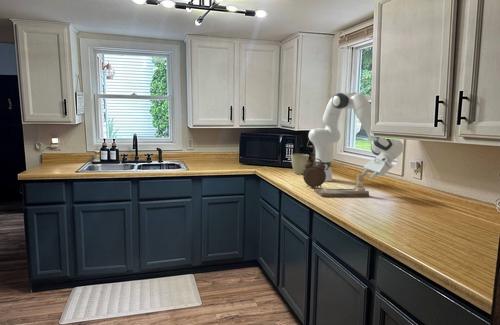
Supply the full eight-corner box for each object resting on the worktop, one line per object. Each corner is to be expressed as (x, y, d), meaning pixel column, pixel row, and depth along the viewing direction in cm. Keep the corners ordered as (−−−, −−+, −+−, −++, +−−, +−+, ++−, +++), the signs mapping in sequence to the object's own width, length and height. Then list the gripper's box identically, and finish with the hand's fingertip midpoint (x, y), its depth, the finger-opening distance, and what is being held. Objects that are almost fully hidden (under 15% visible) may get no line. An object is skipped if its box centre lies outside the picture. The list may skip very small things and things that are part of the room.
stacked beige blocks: (352, 190, 221) (354, 173, 220) (360, 190, 222) (361, 173, 220) (357, 192, 215) (358, 175, 214) (364, 192, 216) (366, 175, 214)
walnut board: (314, 191, 223) (314, 186, 223) (358, 191, 228) (358, 186, 227) (321, 196, 209) (322, 191, 209) (368, 197, 214) (369, 191, 214)
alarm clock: (326, 188, 234) (328, 159, 231) (321, 190, 228) (323, 159, 225) (306, 185, 243) (308, 156, 240) (301, 187, 237) (303, 157, 234)
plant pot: (286, 172, 295) (288, 153, 293) (303, 172, 299) (304, 153, 297) (294, 175, 281) (295, 155, 279) (311, 175, 285) (312, 155, 283)
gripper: (371, 155, 228) (355, 170, 227) (388, 159, 208) (371, 176, 207) (377, 162, 229) (361, 177, 229) (394, 167, 209) (377, 183, 209)
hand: (366, 176), depth 218 cm, fingers open, 8 cm apart
